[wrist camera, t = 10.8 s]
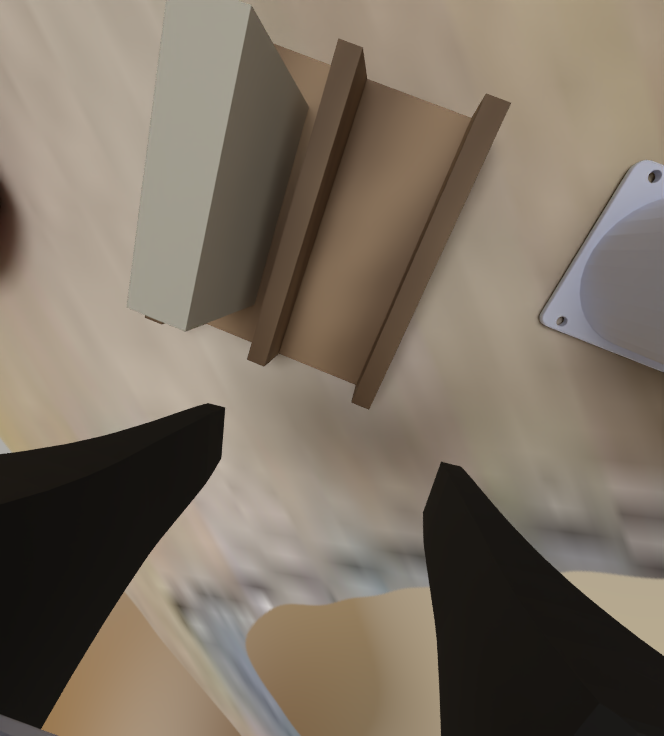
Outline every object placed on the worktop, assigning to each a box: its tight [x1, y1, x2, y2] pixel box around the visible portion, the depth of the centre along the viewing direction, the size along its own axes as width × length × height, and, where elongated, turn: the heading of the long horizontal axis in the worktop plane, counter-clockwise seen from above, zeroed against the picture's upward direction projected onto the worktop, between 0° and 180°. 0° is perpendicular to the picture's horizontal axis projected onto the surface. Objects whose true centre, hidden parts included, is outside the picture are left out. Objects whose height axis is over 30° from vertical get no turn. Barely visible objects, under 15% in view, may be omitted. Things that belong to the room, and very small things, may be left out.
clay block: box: [127, 0, 309, 331], centre depth 14 cm, size 2×10×7 cm, turn 160°
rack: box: [145, 39, 511, 409], centre depth 17 cm, size 13×14×4 cm
